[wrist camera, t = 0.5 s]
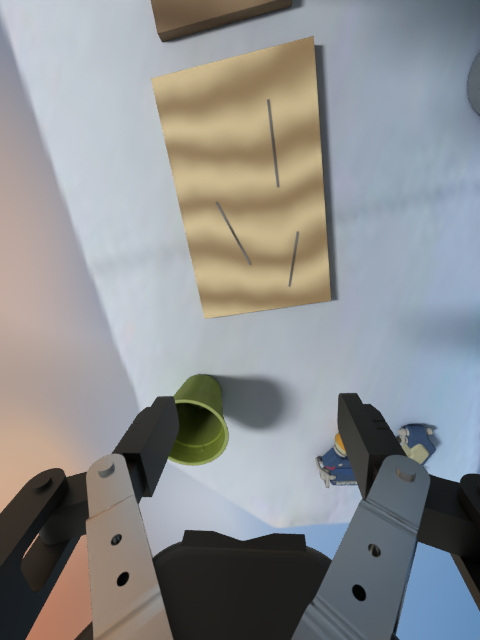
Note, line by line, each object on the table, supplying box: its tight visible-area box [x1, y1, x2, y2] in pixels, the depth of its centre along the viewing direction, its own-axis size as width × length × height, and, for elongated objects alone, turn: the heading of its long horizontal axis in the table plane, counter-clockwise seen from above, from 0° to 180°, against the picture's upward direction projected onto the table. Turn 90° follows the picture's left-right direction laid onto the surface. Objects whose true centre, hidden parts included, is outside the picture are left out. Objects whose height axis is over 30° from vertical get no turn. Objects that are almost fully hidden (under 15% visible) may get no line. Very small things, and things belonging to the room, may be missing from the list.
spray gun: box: [315, 425, 436, 488], centre depth 49 cm, size 21×4×15 cm
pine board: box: [151, 36, 331, 319], centre depth 37 cm, size 32×20×2 cm, turn 10°
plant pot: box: [168, 375, 229, 466], centre depth 44 cm, size 12×12×11 cm
